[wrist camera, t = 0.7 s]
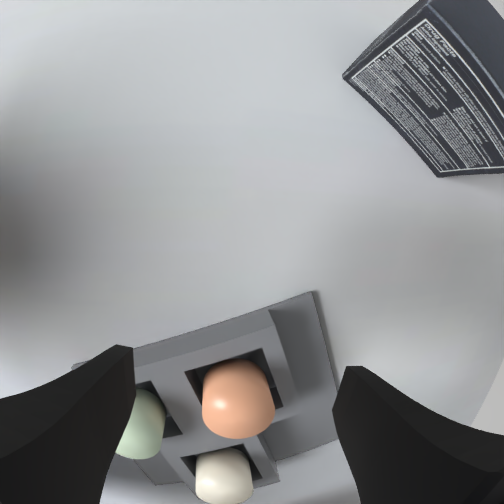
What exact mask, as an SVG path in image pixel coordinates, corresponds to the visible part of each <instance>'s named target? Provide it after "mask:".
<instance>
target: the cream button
mask: <svg viewBox="0 0 504 504" xmlns="http://www.w3.org/2000/svg"><path fill="white" fill-rule="evenodd" d="M196 494H197V496H198V497H199V498H200V499H201V500H203V501H205V502H207V503H210V504H238V503H241V502H244V501H246V500H247V499H249V498H250V497H251V496H252V494H253V484H252V477H251V471H250V465H249V459H248V457H247V456H246V455H245V454H244V453H243V452H241V451H240V450H237V449H234V448H229V447H226V448H222V449H218V450H214V451H209V452H204V453H201V454H200V455H199V456H198V457H197V460H196Z"/></svg>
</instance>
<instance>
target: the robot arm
mask: <svg viewBox="0 0 504 504" xmlns="http://www.w3.org/2000/svg"><path fill="white" fill-rule="evenodd" d="M135 398H136V384H135V371H134V356H133V348H132V347H127V346H121V345H114V346H113V347H111V348H109V349H107V350H106V351H104V352H103V353H101V354H99V355H98V356H96V357H94V358H93V359H91V360H90V361H88V362H86V363H84V364H83V365H81V366H79V367H78V368H76V369H74V370H72V371H70V372H69V373H67V374H65V375H63V376H61V377H59V378H57V379H55V380H53V381H51V382H49V383H47V384H44V385H42V386H40V387H37V388H34V389H32V390H29V391H26V392H23V393H20V394H16V395H13V396H9V397H5V398H1V399H0V504H99V503H100V498H101V494H102V490H103V486H104V482H105V478H106V475H107V472H108V469H109V466H110V464H111V461H112V459H113V457H114V454H115V452H116V450H117V447H118V445H119V443H120V440H121V438H122V436H123V433H124V431H125V429H126V426H127V424H128V422H129V419H130V416H131V413H132V409H133V406H134V402H135ZM332 414H333V419H334V424H335V428H336V432H337V435H338V438H339V441H340V443H341V446H342V448H343V451H344V454H345V456H346V459H347V461H348V464H349V466H350V469H351V472H352V474H353V477H354V479H355V482H356V486H357V489H358V493H359V497H360V501H361V504H504V435H499V434H494V433H489V432H485V431H482V430H478V429H474V428H472V427H469V426H466V425H463V424H460V423H458V422H455V421H453V420H450V419H448V418H446V417H444V416H442V415H440V414H437V413H435V412H433V411H432V410H430V409H428V408H426V407H424V406H423V405H421V404H419V403H418V402H416V401H414V400H413V399H411V398H410V397H408V396H406V395H405V394H403V393H402V392H400V391H399V390H397V389H396V388H395V387H393V386H392V385H390V384H389V383H387V382H386V381H384V380H383V379H382V378H380V377H379V376H377V375H376V374H374V373H373V372H371V371H370V370H368V369H366V368H365V367H363V366H346V369H345V372H344V375H343V378H342V381H341V385H340V388H339V391H338V393H337V396H336V399H335V402H334V405H333V408H332Z"/></svg>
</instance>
